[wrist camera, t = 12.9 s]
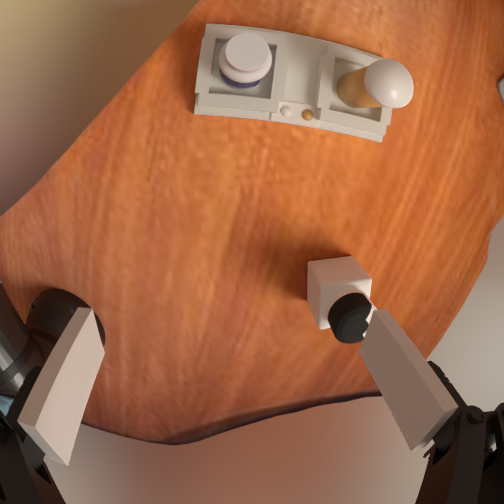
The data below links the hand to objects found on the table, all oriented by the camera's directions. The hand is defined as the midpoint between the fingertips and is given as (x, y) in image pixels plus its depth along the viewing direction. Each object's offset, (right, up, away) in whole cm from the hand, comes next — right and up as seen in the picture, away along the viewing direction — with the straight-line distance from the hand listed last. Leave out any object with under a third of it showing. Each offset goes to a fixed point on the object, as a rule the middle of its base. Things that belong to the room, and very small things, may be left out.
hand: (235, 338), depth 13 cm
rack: (+6, +25, +18) cm, 32 cm away
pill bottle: (0, +25, +17) cm, 30 cm away
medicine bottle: (+12, 0, +30) cm, 33 cm away
